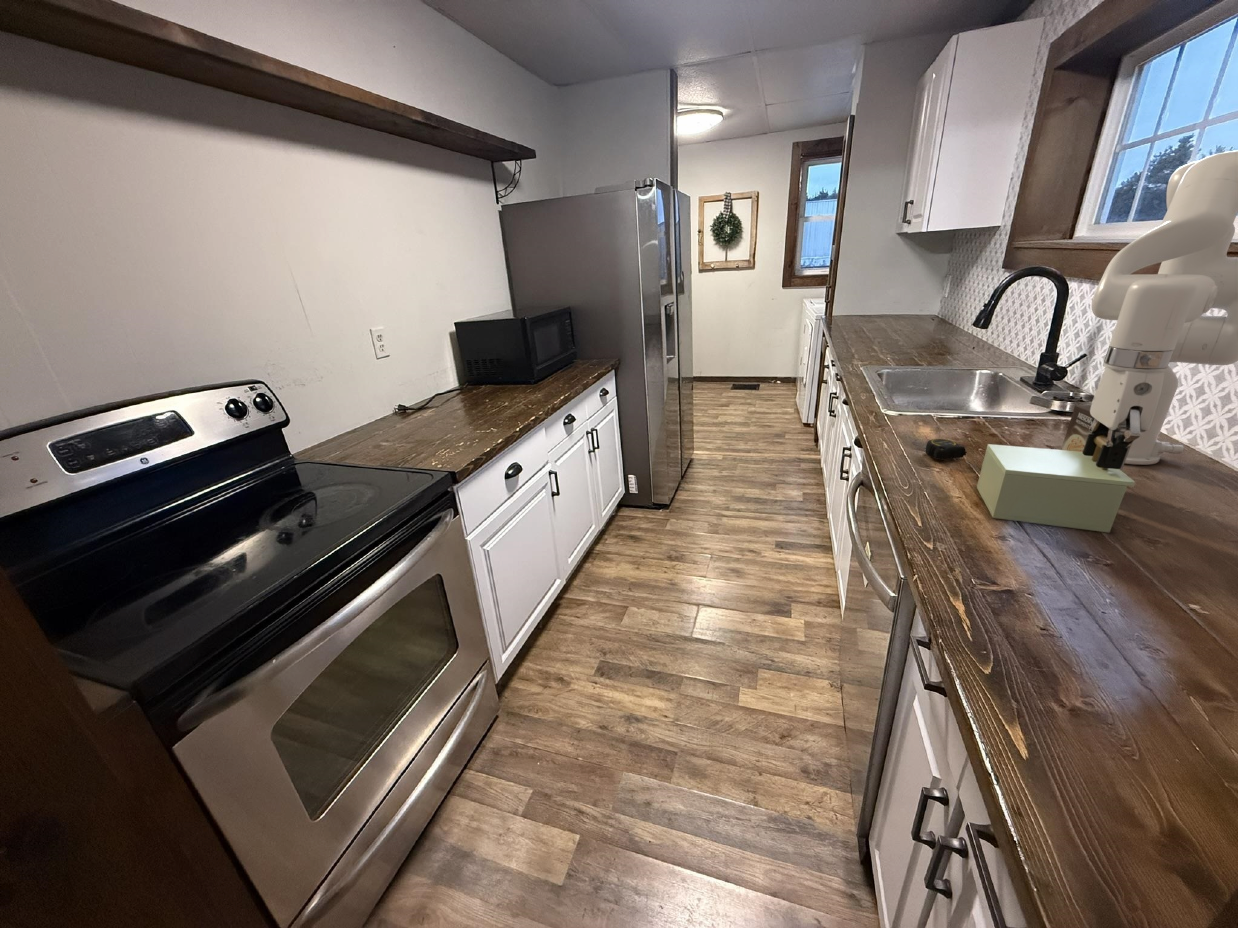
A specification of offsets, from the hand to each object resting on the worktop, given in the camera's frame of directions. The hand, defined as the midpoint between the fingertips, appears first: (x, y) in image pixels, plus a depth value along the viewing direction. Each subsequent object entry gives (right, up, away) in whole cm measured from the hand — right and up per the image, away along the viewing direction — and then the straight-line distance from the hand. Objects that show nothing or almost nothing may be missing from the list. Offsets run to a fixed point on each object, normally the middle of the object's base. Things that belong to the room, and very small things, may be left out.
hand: (1100, 460), depth 88 cm
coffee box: (+10, -5, +14) cm, 18 cm away
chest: (-6, -9, +7) cm, 13 cm away
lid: (-6, -1, +3) cm, 7 cm away
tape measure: (-8, +1, +31) cm, 32 cm away
